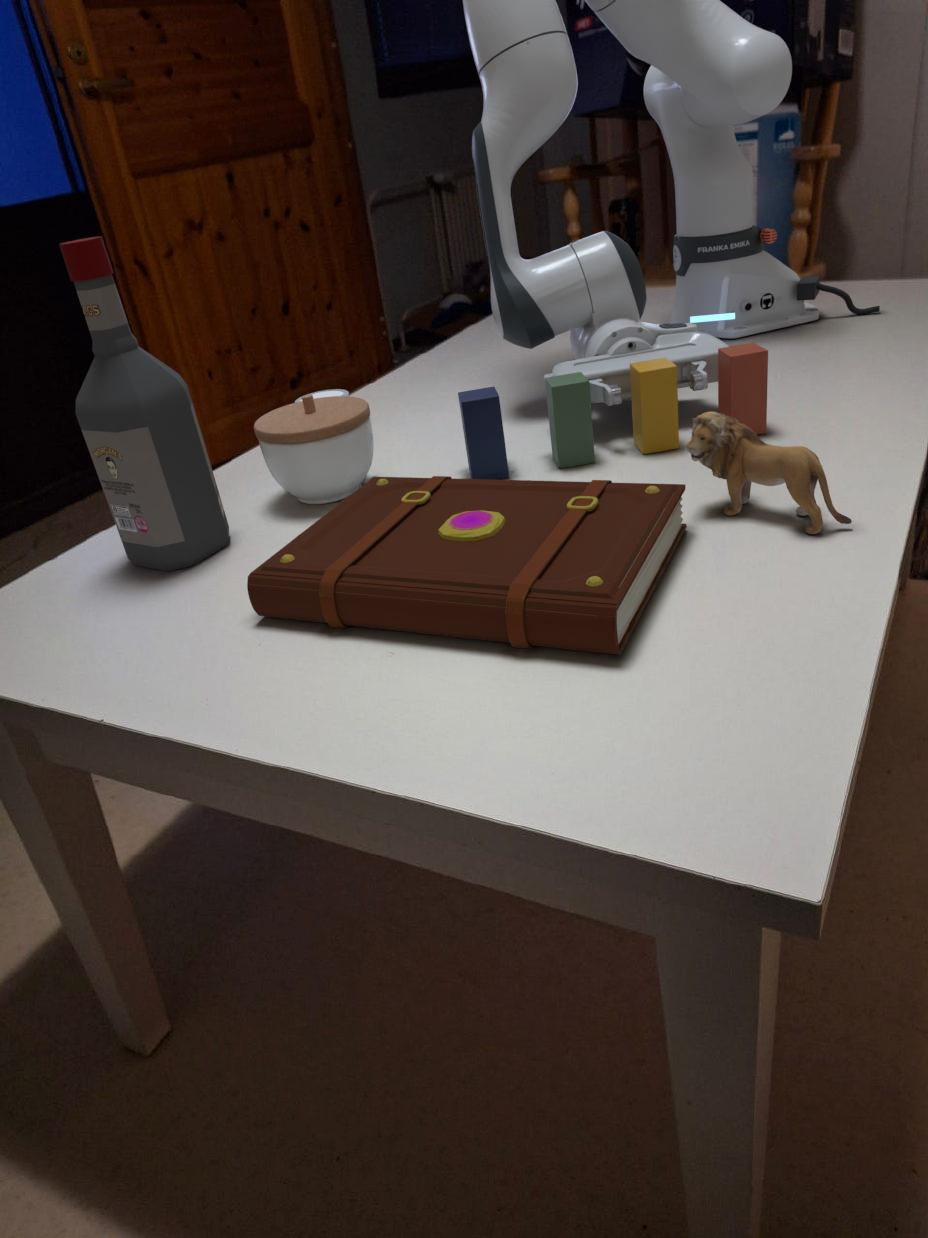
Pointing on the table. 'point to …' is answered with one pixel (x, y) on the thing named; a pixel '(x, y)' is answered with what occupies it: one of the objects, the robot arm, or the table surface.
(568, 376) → the sage block
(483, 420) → the navy block
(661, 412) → the mustard block
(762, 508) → the table surface
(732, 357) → the terracotta block
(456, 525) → the book
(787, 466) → the lion figurine
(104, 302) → the liquor
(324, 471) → the lidded bowl
